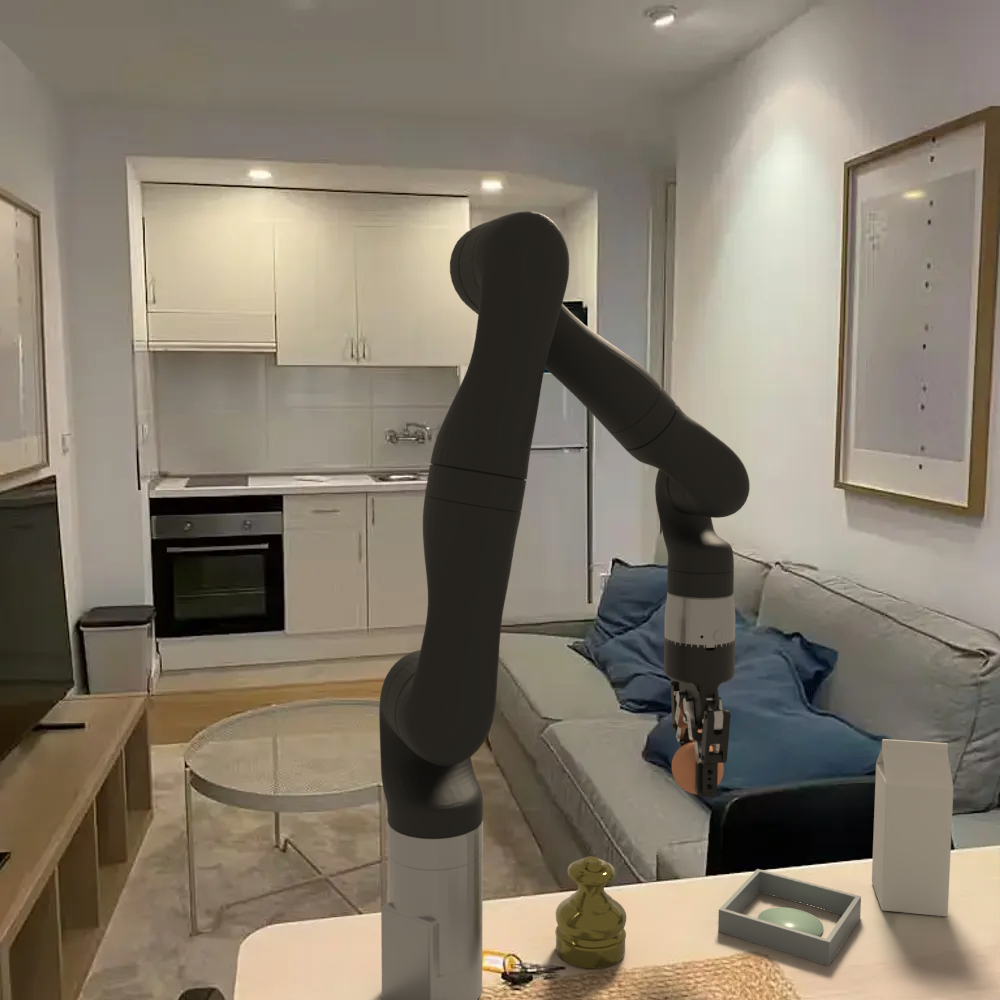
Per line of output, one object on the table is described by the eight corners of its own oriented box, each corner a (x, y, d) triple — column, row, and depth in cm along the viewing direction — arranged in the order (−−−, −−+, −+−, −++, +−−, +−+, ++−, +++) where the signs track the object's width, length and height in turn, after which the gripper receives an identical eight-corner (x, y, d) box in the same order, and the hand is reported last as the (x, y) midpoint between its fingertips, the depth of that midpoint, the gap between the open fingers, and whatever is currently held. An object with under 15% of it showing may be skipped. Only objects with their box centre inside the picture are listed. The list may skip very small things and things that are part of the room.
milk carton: (947, 918, 114) (955, 753, 112) (881, 911, 115) (887, 749, 113) (934, 889, 121) (940, 734, 119) (871, 883, 122) (877, 729, 120)
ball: (717, 805, 107) (718, 754, 107) (665, 797, 109) (666, 747, 109) (727, 787, 112) (728, 738, 112) (678, 780, 115) (678, 732, 114)
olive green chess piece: (639, 951, 106) (641, 859, 106) (595, 979, 101) (597, 883, 100) (585, 926, 112) (586, 838, 111) (540, 951, 106) (541, 860, 105)
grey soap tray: (828, 965, 104) (829, 942, 103) (718, 931, 110) (718, 909, 110) (860, 917, 114) (861, 896, 113) (756, 889, 120) (757, 868, 120)
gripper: (648, 621, 116) (647, 764, 118) (685, 651, 102) (683, 813, 103) (711, 619, 117) (709, 761, 118) (757, 648, 103) (754, 809, 104)
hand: (697, 784), depth 111 cm, fingers closed on ball, 5 cm apart
